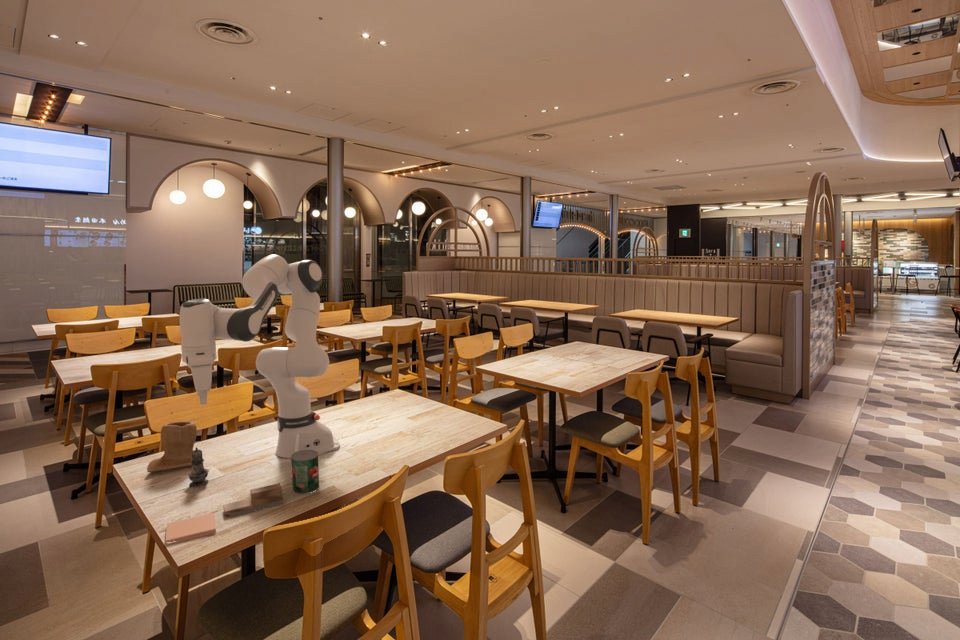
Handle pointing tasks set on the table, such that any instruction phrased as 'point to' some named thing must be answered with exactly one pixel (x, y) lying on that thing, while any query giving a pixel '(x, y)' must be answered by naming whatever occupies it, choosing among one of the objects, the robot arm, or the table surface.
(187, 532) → the tile
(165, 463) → the tan suede boot
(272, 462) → the table surface
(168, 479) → the table surface
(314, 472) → the canned tomato
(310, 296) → the robot arm
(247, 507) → the wooden l-shaped bracket
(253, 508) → the grey flat slab
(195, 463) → the dark grey stupa figurine
